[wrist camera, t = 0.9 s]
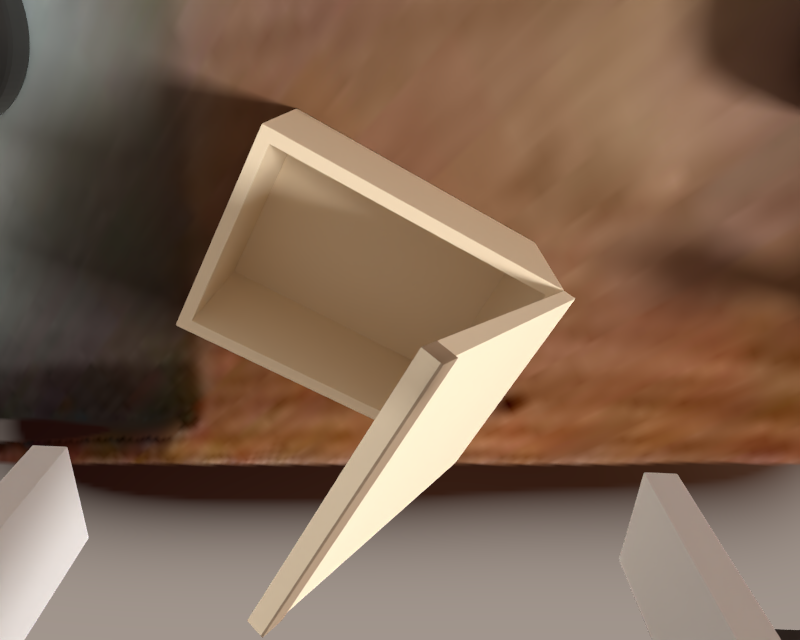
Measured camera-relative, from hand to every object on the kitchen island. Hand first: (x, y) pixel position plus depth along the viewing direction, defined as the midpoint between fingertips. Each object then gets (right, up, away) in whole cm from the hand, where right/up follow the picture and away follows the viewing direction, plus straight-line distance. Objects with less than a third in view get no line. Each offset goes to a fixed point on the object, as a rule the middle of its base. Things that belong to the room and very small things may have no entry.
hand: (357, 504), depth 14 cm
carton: (-1, +9, +32) cm, 33 cm away
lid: (+3, -1, +16) cm, 16 cm away
